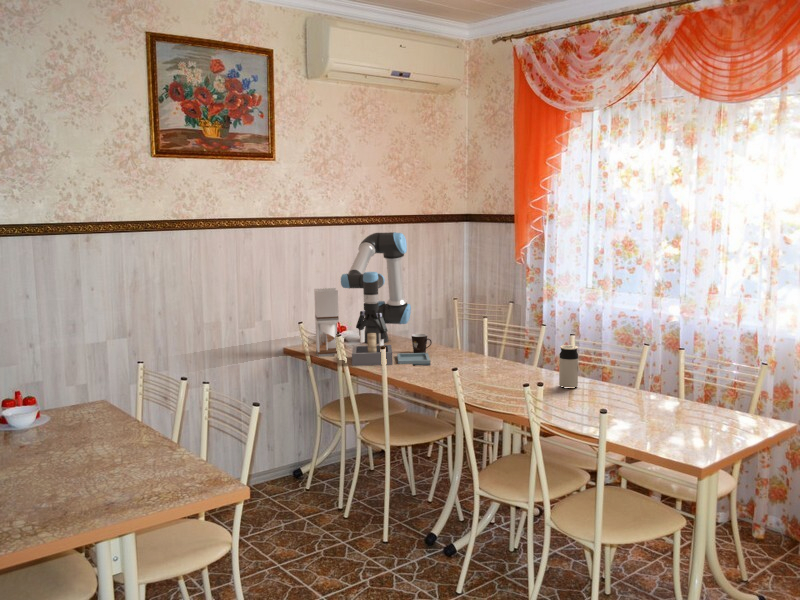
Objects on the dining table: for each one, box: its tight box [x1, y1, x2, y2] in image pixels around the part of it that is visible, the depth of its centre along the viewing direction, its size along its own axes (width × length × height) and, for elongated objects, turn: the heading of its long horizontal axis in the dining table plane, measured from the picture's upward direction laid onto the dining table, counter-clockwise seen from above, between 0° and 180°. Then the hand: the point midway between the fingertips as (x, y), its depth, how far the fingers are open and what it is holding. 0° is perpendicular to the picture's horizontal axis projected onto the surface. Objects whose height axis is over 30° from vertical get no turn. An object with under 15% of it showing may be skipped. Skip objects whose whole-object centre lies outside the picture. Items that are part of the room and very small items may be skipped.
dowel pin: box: [367, 333, 377, 353], centre depth 383 cm, size 4×4×14 cm
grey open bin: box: [351, 344, 393, 367], centre depth 384 cm, size 20×20×7 cm
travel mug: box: [558, 344, 579, 388], centre depth 330 cm, size 8×8×18 cm
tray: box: [396, 352, 431, 367], centre depth 385 cm, size 18×16×2 cm
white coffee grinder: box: [313, 287, 339, 357], centre depth 405 cm, size 11×11×35 cm
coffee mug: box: [411, 333, 432, 353], centre depth 402 cm, size 12×9×10 cm
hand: (371, 344), depth 383 cm, fingers open, 13 cm apart
